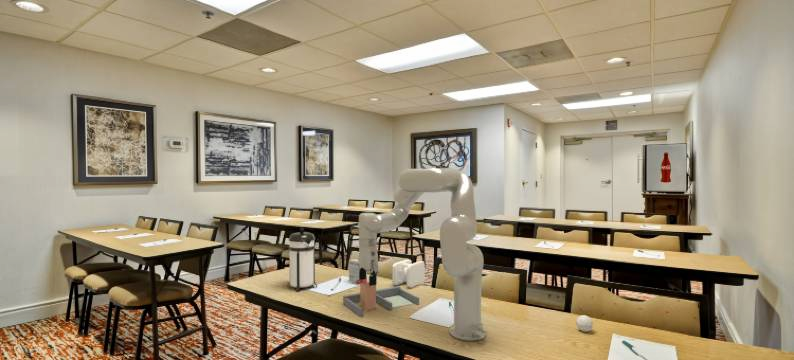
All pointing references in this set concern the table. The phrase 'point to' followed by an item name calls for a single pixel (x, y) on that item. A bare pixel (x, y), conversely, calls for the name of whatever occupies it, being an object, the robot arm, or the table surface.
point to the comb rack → (382, 299)
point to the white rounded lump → (584, 323)
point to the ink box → (355, 272)
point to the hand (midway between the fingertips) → (367, 282)
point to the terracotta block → (367, 296)
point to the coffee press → (302, 260)
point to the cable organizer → (408, 273)
